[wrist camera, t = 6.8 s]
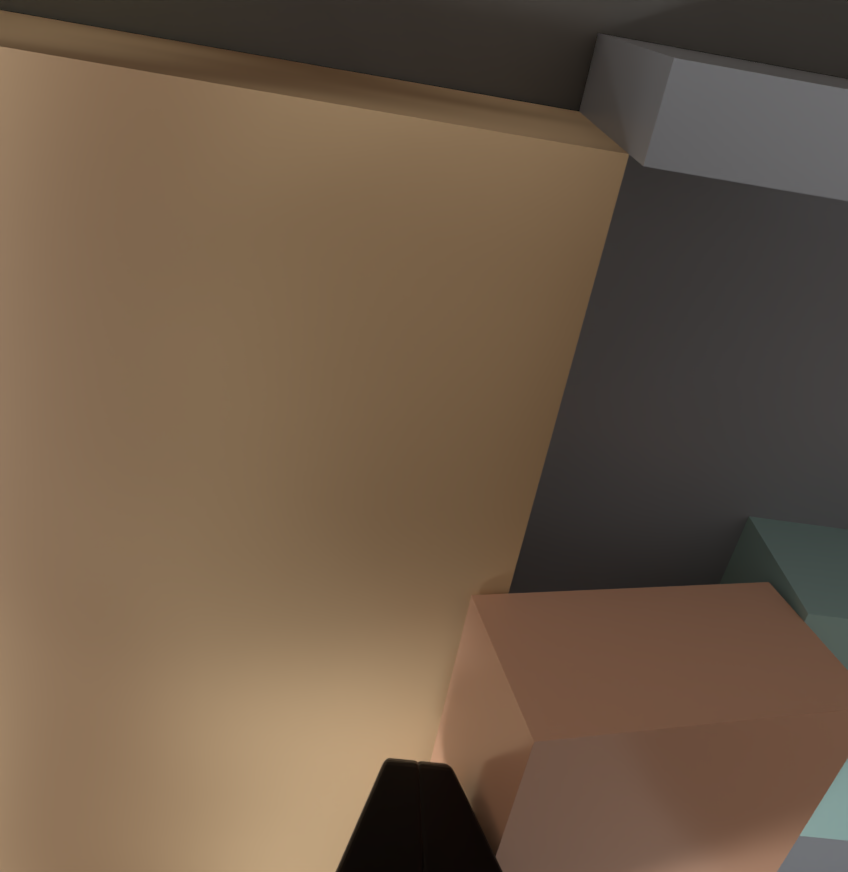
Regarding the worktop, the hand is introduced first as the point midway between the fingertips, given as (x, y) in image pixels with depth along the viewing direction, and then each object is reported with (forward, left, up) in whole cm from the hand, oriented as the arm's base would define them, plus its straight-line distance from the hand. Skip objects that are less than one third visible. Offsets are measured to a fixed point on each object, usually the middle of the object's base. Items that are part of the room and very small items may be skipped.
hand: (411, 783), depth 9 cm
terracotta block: (-2, 0, -1) cm, 3 cm away
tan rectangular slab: (+4, 0, -4) cm, 5 cm away
